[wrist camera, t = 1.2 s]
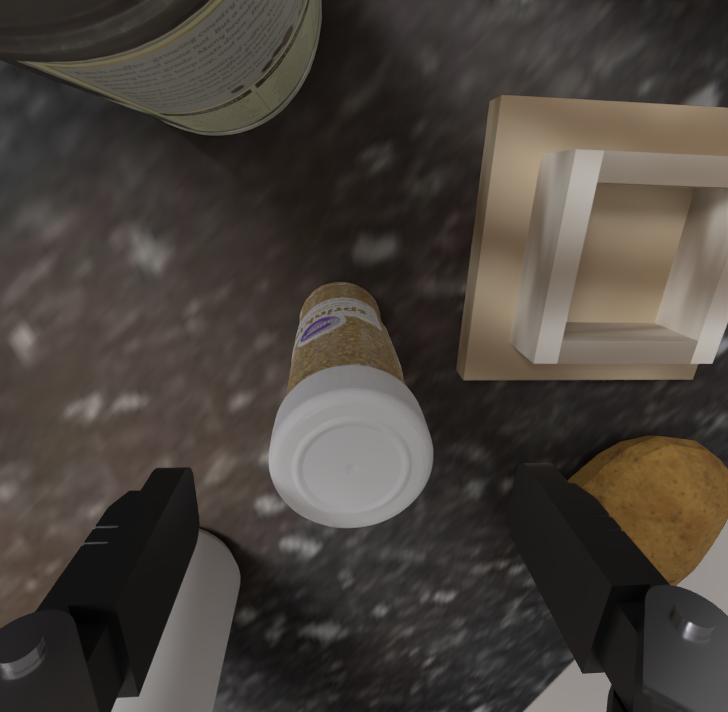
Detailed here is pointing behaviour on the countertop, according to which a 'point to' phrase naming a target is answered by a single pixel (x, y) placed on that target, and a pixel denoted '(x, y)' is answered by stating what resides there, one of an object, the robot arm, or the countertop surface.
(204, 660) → the alcohol
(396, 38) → the countertop surface
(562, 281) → the spice stand
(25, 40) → the coffee can
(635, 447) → the potato
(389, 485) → the sprinkles bottle
